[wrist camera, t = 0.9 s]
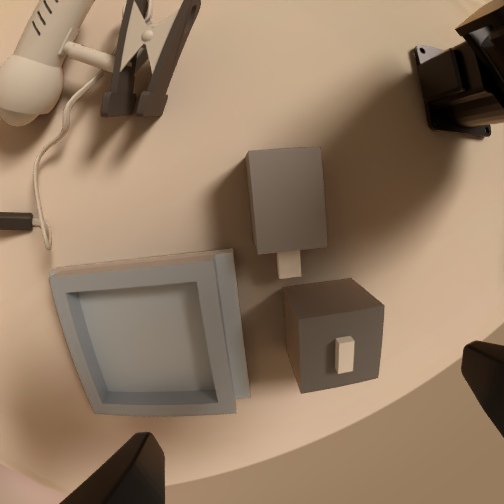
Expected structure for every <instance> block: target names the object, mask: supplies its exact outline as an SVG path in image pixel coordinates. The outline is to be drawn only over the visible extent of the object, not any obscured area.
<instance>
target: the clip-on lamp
mask: <svg viewBox="0 0 504 504" xmlns="http://www.w3.org/2000/svg"><path fill="white" fill-rule="evenodd" d="M94 1H95V0H40V1H39V3H38V4H37V6H36V8H35V10H34V12H33V14H32V16H31V18H30V19H29V21H28V23H27V25H26V27H25V29H24V32H23V34H22V36H21V38H20V40H19V42H18V45H17V47H16V49H15V51H14V54H13V55H12V56H10V57H9V58H8V59H7V60H6V61H5V62H4V63H3V64H2V65H1V66H0V116H1V118H2V119H3V121H4V122H6V123H7V124H9V125H11V126H24V125H26V124H29V123H30V122H32V121H33V120H34V119H35V118H36V117H37V116H38V115H39V114H47V113H49V112H50V111H51V110H52V109H53V108H54V106H55V105H56V103H57V102H58V100H59V98H60V95H61V92H62V89H63V84H64V76H63V70H62V67H61V66H62V64H63V61H64V59H65V57H66V56H67V54H68V57H69V58H71V59H74V60H77V61H80V62H83V63H86V64H89V65H92V66H95V67H98V68H100V69H101V70H100V71H99V72H98V73H97V74H96V75H95V76H94V77H93V78H92V79H91V80H90V81H89V82H88V83H86V84H85V85H84V86H83V87H82V88H81V89H80V90H79V91H77V92H76V93H75V94H74V95H73V96H72V97H71V99H70V100H69V101H68V102H67V104H66V106H65V108H64V112H63V128H62V131H61V133H60V134H59V135H58V136H57V137H56V138H55V139H54V140H53V141H51V142H50V143H49V144H47V145H46V146H45V147H44V148H43V149H42V150H41V151H40V152H39V154H38V155H37V157H36V160H35V163H34V174H33V177H34V190H35V197H36V204H37V209H38V215H39V218H33V215H32V213H15V212H0V230H32V228H33V225H34V226H40V227H41V230H42V235H43V239H44V243H45V246H46V249H47V250H50V249H51V245H52V233H51V229H50V226H49V225H48V223H47V222H46V221H45V220H44V218H43V213H42V208H41V203H40V197H39V191H38V179H37V175H38V165H39V162H40V159H41V157H42V156H43V154H44V153H45V152H46V151H47V150H48V149H49V148H50V147H51V146H52V145H54V144H55V143H56V142H58V141H59V140H60V139H61V138H62V137H63V136H64V135H65V134H66V133H67V131H68V129H69V124H70V111H71V108H72V106H73V104H74V103H75V102H76V101H77V100H78V98H80V97H81V96H82V95H83V94H84V93H85V92H86V91H88V90H89V89H90V88H91V87H92V86H93V85H94V84H95V83H96V82H97V81H99V80H100V79H101V78H102V77H103V75H104V74H105V73H106V72H107V71H109V72H111V73H113V74H112V82H111V89H110V92H106V93H104V95H103V99H102V106H101V116H102V117H115V116H124V115H132V113H133V109H134V105H135V101H136V95H135V94H133V87H134V79H135V75H136V74H137V72H138V71H139V70H140V69H141V68H142V66H143V65H144V64H145V63H146V62H147V61H148V59H149V62H150V66H151V71H152V78H151V81H150V83H149V86H148V89H147V91H143V92H142V94H141V96H140V100H139V103H138V107H137V111H136V115H137V116H139V117H144V118H145V117H153V116H161V115H162V114H163V111H164V108H165V105H166V102H167V98H168V95H165V94H166V92H167V89H168V86H169V83H170V80H171V78H172V75H173V72H174V70H175V67H176V65H177V62H178V59H179V57H180V54H181V52H182V49H183V47H184V45H185V42H186V40H187V37H188V35H189V33H190V30H191V28H192V26H193V24H194V21H195V19H196V17H197V15H198V12H199V9H200V5H201V0H184V1H183V3H182V5H181V7H180V9H179V10H177V11H176V12H174V13H173V14H171V15H170V16H168V17H167V18H166V19H164V20H163V21H161V22H160V23H159V24H152V22H151V20H150V19H151V18H152V13H153V0H148V1H147V0H127V2H126V3H125V5H124V7H123V19H122V24H121V29H120V34H119V39H118V44H117V47H116V48H115V50H114V52H113V54H112V55H110V54H107V53H104V52H101V51H98V50H95V49H92V48H89V47H85V46H83V45H80V44H77V43H74V40H75V38H76V36H77V34H78V32H79V31H78V30H79V28H80V26H81V24H82V22H83V20H84V18H85V17H86V15H87V13H88V11H89V9H90V8H91V6H92V4H93V3H94ZM147 9H148V10H147ZM46 231H47V232H48V237H49V241H48V237H47V232H46Z"/></svg>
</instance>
